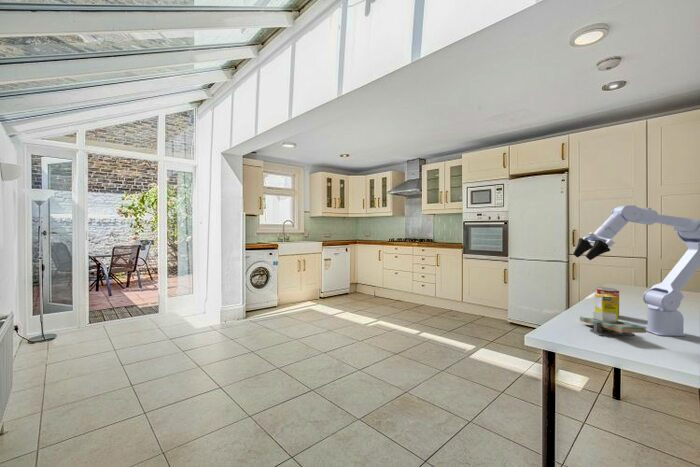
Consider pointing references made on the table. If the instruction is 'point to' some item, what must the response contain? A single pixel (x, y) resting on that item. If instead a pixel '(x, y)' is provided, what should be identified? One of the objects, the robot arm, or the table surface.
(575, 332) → the table surface
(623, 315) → the table surface
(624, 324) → the balance beam
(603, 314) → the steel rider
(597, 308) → the supplement box
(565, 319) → the table surface
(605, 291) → the canned food
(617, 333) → the beam stand
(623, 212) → the robot arm
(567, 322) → the table surface
